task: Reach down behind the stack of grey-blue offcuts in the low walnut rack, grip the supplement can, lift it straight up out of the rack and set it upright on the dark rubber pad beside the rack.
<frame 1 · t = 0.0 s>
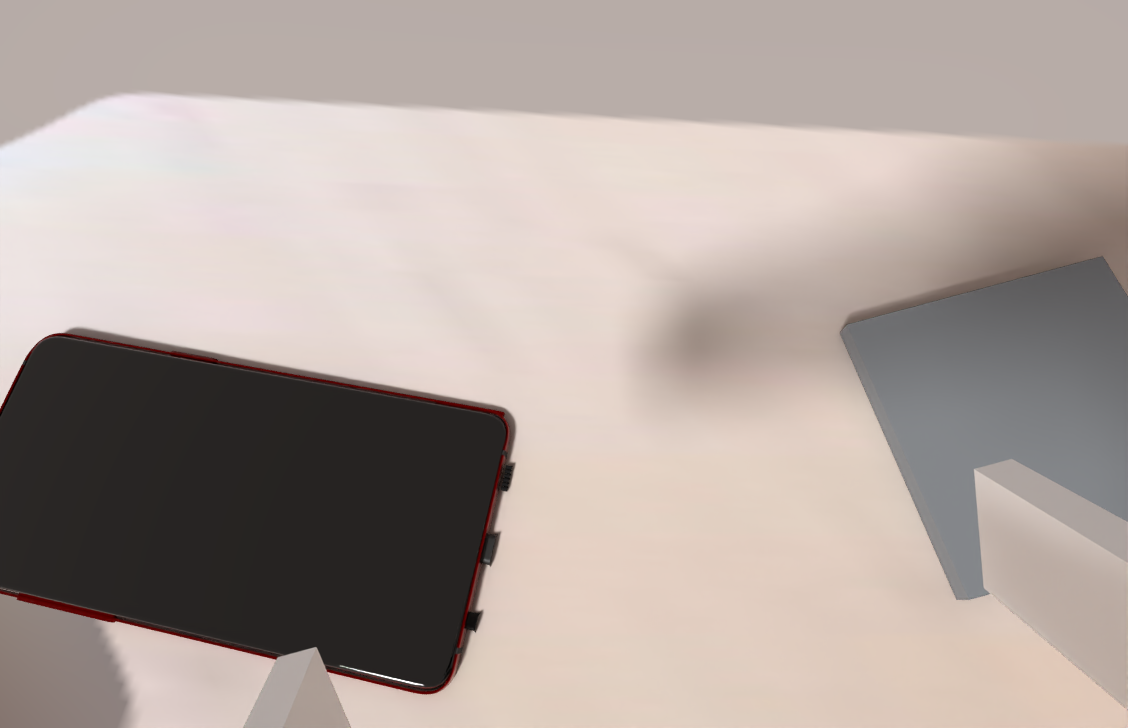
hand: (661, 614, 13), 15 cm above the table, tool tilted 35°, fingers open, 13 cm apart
pad: (1027, 420, 28), on the table
smartphone: (241, 498, 31), on the table
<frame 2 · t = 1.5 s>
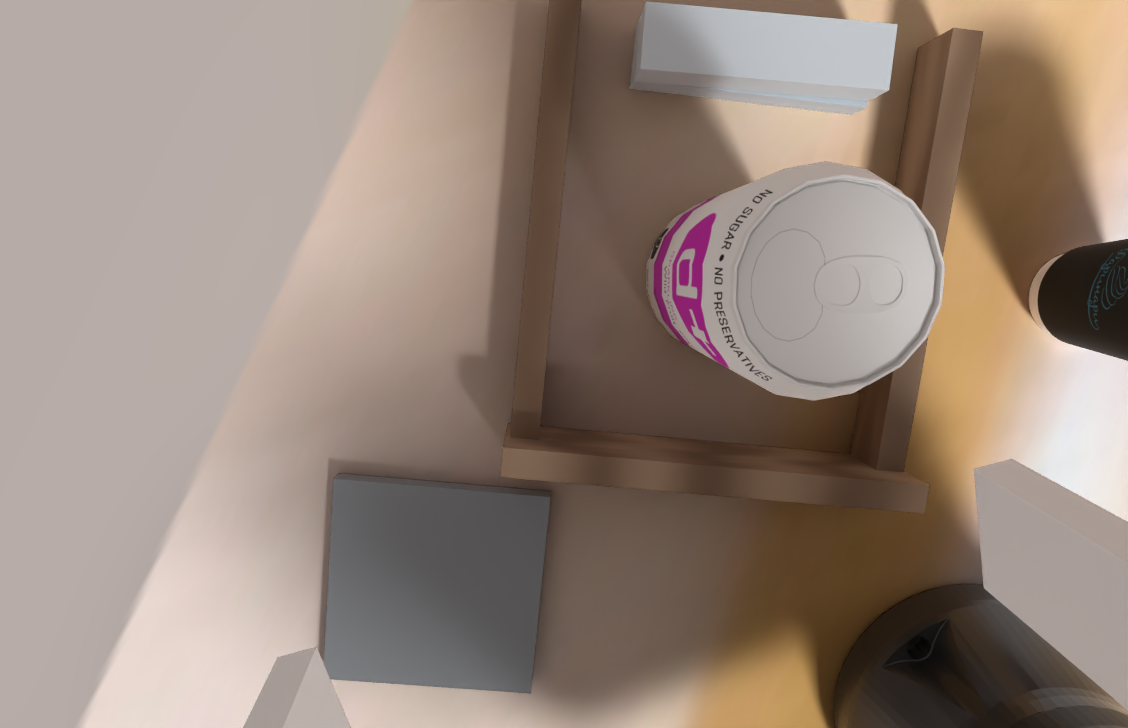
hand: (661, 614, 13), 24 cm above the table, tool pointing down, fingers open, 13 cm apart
pad: (437, 581, 38), on the table
dixie cup: (1067, 294, 37), on the table
offcut upper: (755, 60, 33), point 2 cm above the table, touching offcut lower
rack: (717, 277, 36), on the table
offcut lower: (743, 74, 35), on the table, touching offcut upper
supplement can: (716, 277, 36), resting in rack
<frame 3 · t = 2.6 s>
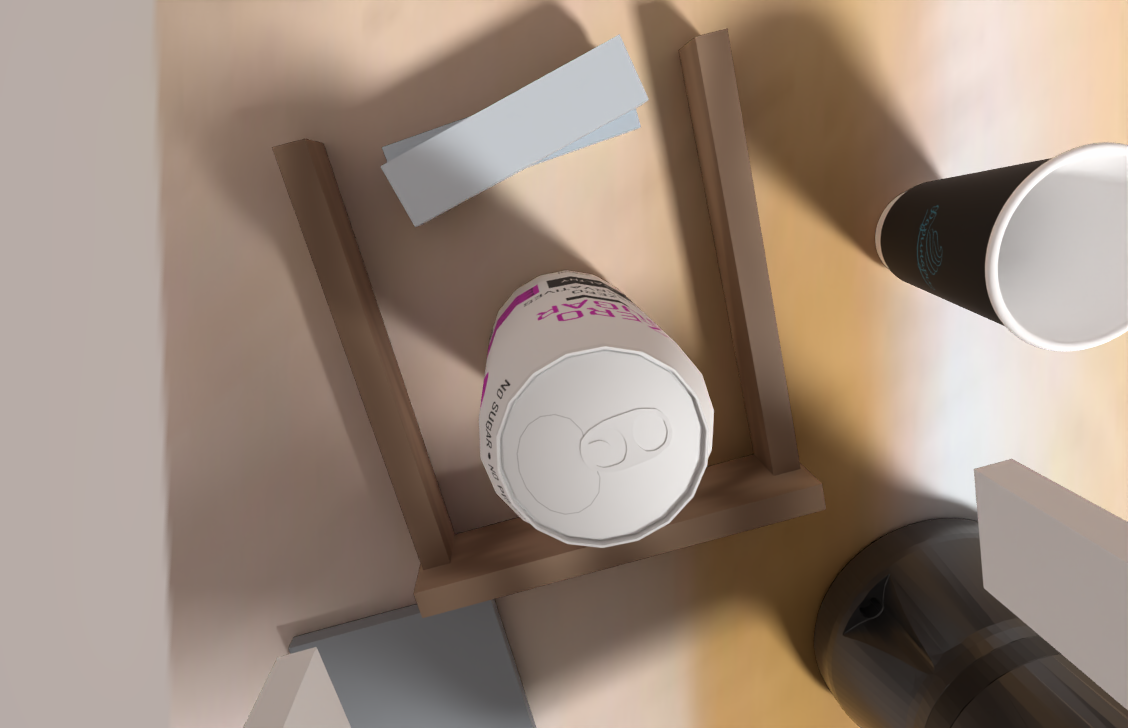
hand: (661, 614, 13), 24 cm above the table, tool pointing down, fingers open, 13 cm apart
pad: (422, 691, 41), on the table
dixie cup: (915, 232, 36), on the table
offcut upper: (514, 136, 31), point 2 cm above the table, touching offcut lower
rack: (565, 344, 36), on the table
offcut lower: (512, 140, 33), on the table, touching offcut upper
supplement can: (565, 343, 36), resting in rack
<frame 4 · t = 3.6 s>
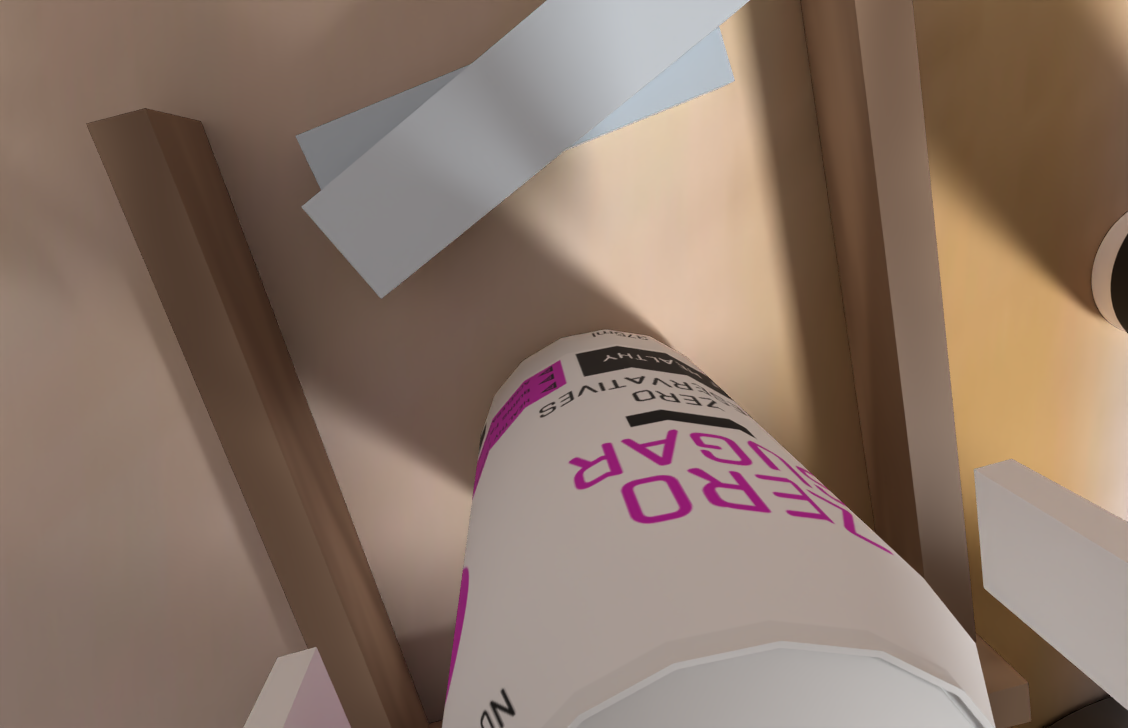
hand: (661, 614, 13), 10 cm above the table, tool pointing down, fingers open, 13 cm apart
offcut upper: (522, 114, 18), point 1 cm above the table, touching offcut lower
rack: (601, 442, 23), on the table
offcut lower: (517, 115, 20), on the table, touching offcut upper
supplement can: (600, 440, 23), resting in rack
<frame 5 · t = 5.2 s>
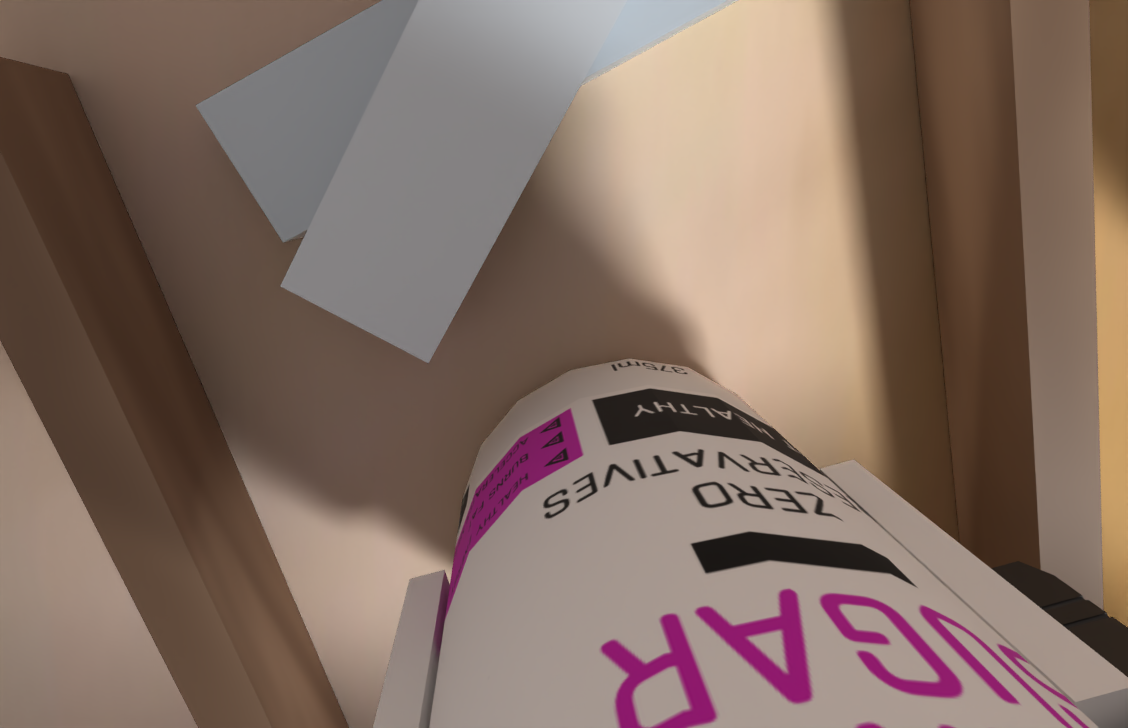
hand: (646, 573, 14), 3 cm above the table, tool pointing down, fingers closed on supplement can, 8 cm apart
offcut upper: (512, 47, 13), point 1 cm above the table, touching offcut lower
rack: (621, 503, 17), on the table
offcut lower: (502, 51, 15), on the table, touching offcut upper
supplement can: (619, 498, 18), resting in rack, touching gripper
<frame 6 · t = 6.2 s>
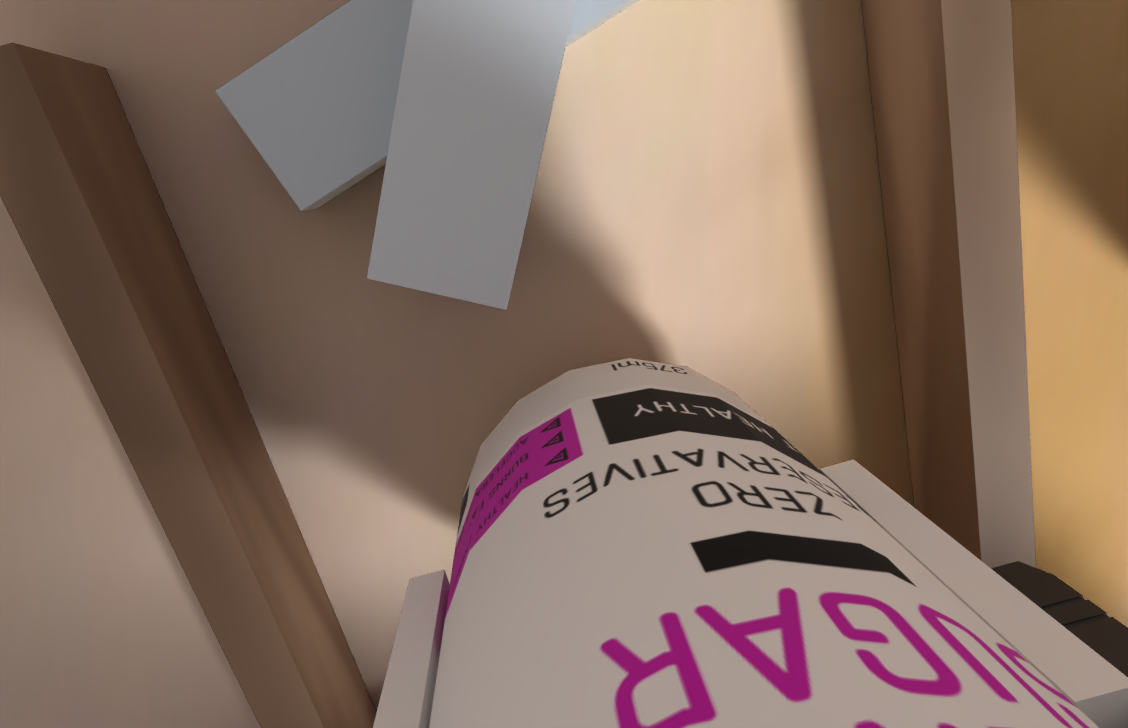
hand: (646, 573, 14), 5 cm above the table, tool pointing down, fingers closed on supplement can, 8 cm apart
offcut upper: (499, 15, 14), point 1 cm above the table, touching offcut lower
rack: (604, 459, 19), on the table
offcut lower: (486, 24, 16), on the table, touching offcut upper
supplement can: (619, 498, 18), point 2 cm above the table, touching gripper
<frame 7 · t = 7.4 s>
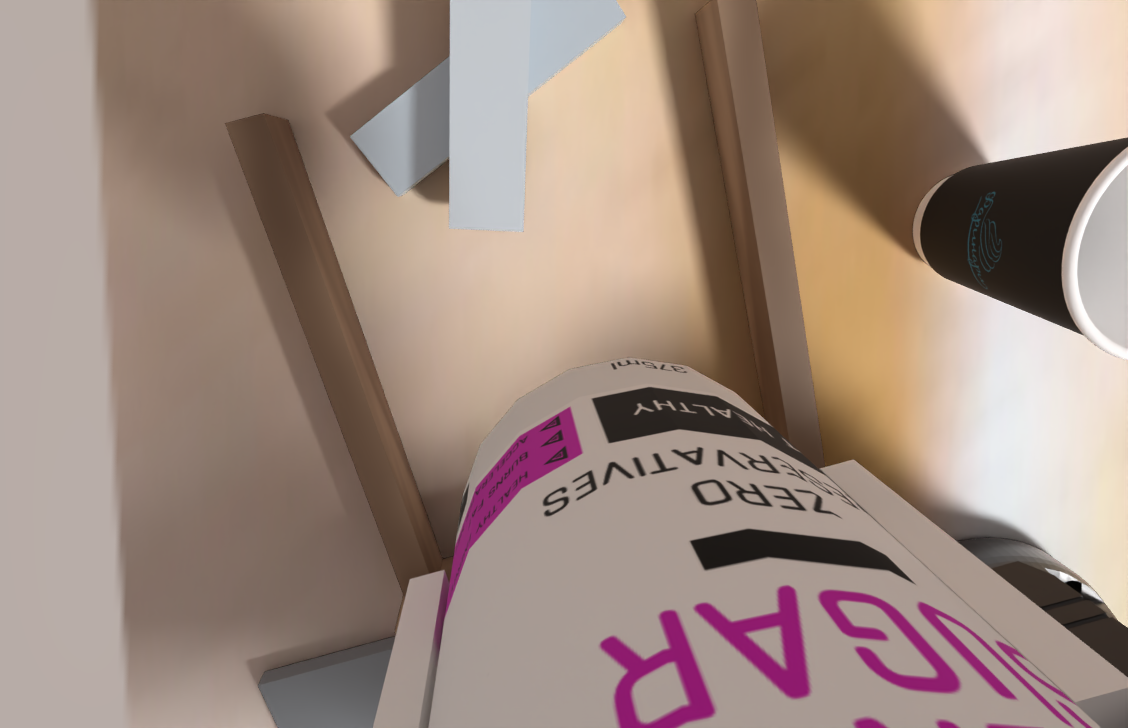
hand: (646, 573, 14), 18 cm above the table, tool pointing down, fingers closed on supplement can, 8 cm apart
dixie cup: (957, 223, 32), on the table
offcut upper: (490, 78, 27), point 1 cm above the table, touching offcut lower
rack: (565, 349, 32), on the table
offcut lower: (488, 83, 29), on the table, touching offcut upper
supplement can: (619, 497, 18), point 15 cm above the table, touching gripper
when the fingers open (6 cm above the table, at t = 14.0 s): supplement can drops 1 cm, resting on pad.
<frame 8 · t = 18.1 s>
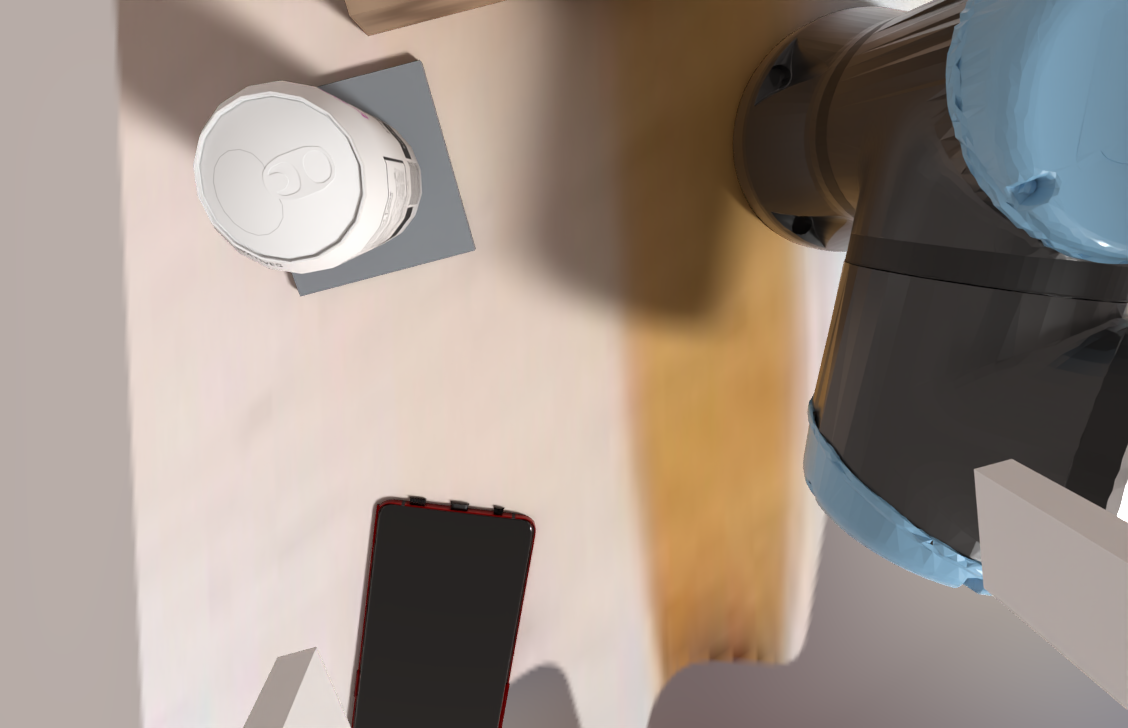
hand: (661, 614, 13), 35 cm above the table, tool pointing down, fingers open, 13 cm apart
pad: (361, 182, 43), on the table
smartphone: (440, 636, 53), on the table
supplement can: (359, 181, 42), point 1 cm above the table, touching pad
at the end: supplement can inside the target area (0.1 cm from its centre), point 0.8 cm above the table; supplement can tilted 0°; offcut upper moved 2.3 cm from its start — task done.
